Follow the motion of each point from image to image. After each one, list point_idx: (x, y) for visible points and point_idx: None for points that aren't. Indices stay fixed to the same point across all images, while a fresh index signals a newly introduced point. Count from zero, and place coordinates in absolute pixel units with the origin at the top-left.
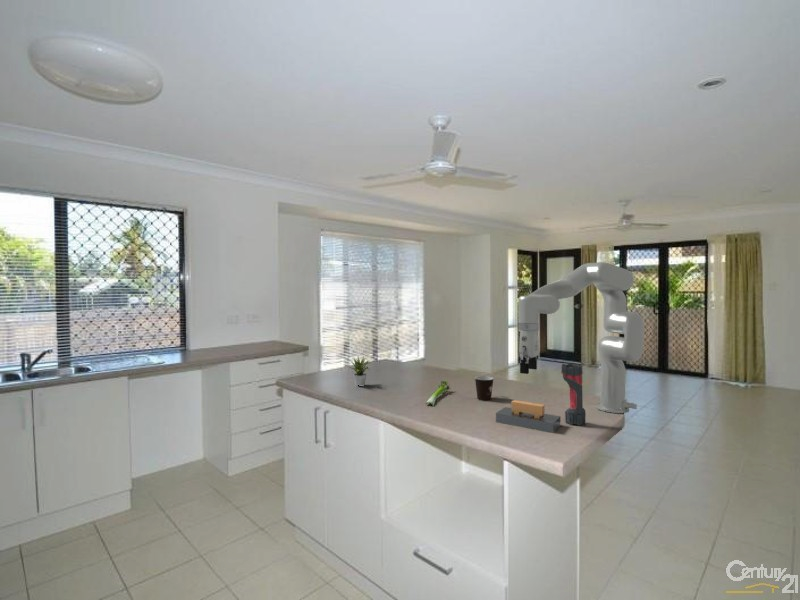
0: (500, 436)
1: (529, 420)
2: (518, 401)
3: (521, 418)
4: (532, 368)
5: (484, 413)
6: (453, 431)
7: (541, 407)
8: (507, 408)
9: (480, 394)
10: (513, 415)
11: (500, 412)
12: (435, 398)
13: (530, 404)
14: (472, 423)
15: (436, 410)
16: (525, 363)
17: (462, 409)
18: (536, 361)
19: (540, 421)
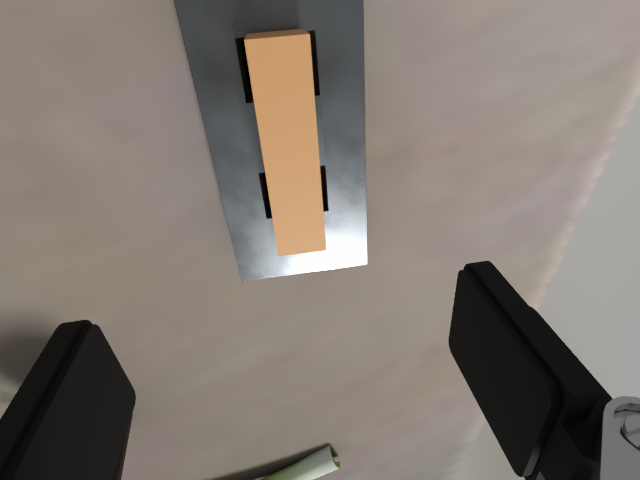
0: (530, 137)
1: (363, 87)
2: (292, 223)
3: (364, 136)
4: (114, 363)
5: (282, 321)
6: (541, 287)
7: (308, 38)
8: (257, 263)
9: (126, 434)
10: (352, 188)
11: (344, 254)
12: (282, 478)
13: (309, 132)
14: (427, 289)
15: (362, 421)
16: (626, 417)
17: (294, 387)
18: (5, 447)
19: (362, 11)
